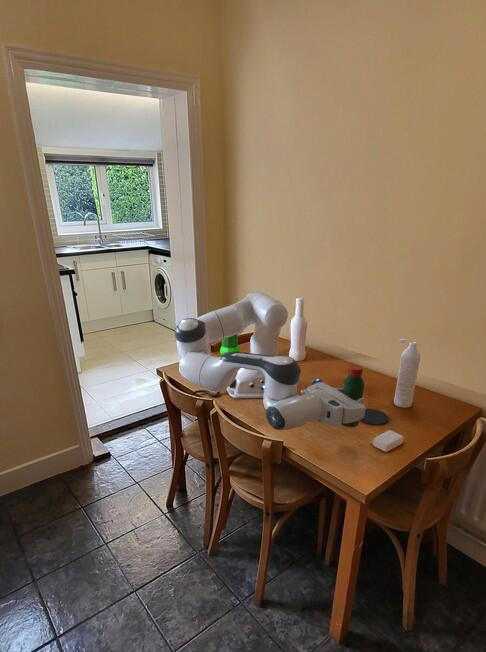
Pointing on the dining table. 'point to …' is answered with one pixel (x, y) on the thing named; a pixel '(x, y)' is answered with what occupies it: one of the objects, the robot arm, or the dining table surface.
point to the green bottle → (353, 393)
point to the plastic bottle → (230, 345)
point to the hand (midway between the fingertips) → (354, 395)
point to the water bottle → (407, 375)
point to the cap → (355, 370)
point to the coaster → (374, 417)
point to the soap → (387, 440)
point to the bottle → (298, 332)
